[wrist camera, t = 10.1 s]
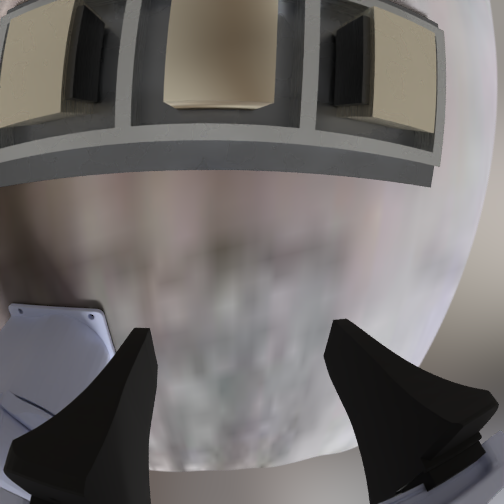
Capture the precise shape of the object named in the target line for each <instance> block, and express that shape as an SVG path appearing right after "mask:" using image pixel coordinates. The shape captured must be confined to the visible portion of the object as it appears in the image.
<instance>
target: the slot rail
mask: <svg viewBox="0 0 504 504" xmlns="http://www.w3.org/2000/svg"><path fill="white" fill-rule="evenodd" d="M171 2H172V0H29V1H27V2H25V3H22V4H20V5H18V6H16V7H14V8H12V9H10V10H8V12H7V15H5V16H3V17H1V21H0V187H4V186H10V185H16V184H22V183H28V182H35V181H42V180H50V179H58V178H66V177H76V176H86V175H97V174H109V173H123V172H140V171H164V170H256V171H280V172H298V173H313V174H326V175H337V176H348V177H357V178H367V179H375V180H383V181H391V182H398V183H405V184H412V185H419V186H425V187H431V182H432V176H433V169H434V166H438V167H440V161H441V153H442V144H443V134H444V121H445V103H446V58H445V40H444V31H443V30H441V29H439V28H438V24H437V23H435V22H433V21H431V20H429V19H427V18H426V17H424V16H422V15H420V14H418V13H416V12H414V11H411V10H409V9H407V8H405V7H403V6H401V5H398V4H396V3H394V2H391V1H389V0H278V22H277V48H276V71H275V93H274V103H272V104H269V105H266V106H264V107H261V108H258V109H256V110H233V109H188V110H177V109H175V108H173V107H172V106H170V105H168V104H167V103H165V102H163V97H164V76H165V61H166V48H167V37H168V27H169V18H170V10H171Z"/></svg>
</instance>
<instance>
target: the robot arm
mask: <svg viewBox="0 0 504 504" xmlns="http://www.w3.org/2000/svg"><path fill="white" fill-rule="evenodd" d="M8 308H9V312H10V314H11V317H10V318H9V320H8V321H7V322H6V324H5V325H4V326H3V328H2V329H1V331H0V504H151V499H150V486H149V434H150V427H151V420H152V414H153V407H154V401H155V395H156V389H157V370H158V365H157V360H156V356H155V351H154V346H153V341H152V336H151V331H150V328H134V329H133V330H132V331H131V333H130V334H129V336H128V337H127V338H126V340H125V341H124V343H123V344H122V345H121V347H120V348H119V349H118V351H117V352H116V353H115V349H114V346H113V343H112V340H111V336H110V333H109V329H108V326H107V322H106V319H105V315H104V313H103V311H102V310H100V309H91V308H70V307H54V306H39V305H27V304H16V303H11V304H10V305H9V307H8ZM90 314H92V315H93V316H94V317H93V316H91V315H90ZM324 359H325V363H326V366H327V370H328V373H329V376H330V378H331V380H332V383H333V385H334V387H335V389H336V391H337V393H338V395H339V397H340V400H341V402H342V404H343V406H344V408H345V410H346V412H347V414H348V416H349V419H350V421H351V424H352V427H353V430H354V433H355V436H356V439H357V442H358V446H359V450H360V453H361V457H362V461H363V465H364V470H365V475H366V480H367V486H368V492H369V501H370V504H488V503H489V502H490V501H491V500H492V499H493V498H494V497H495V496H496V495H497V494H498V493H499V492H500V491H501V490H502V488H504V433H503V432H502V430H499V431H498V432H497V433H495V434H494V435H493V436H492V437H490V438H489V439H488V440H487V441H485V442H484V443H483V444H482V445H481V444H480V442H479V440H480V439H481V438H482V436H481V435H480V433H479V431H480V429H482V428H483V426H484V425H485V424H486V423H487V422H488V421H489V420H490V419H491V417H492V416H493V415H494V413H495V412H496V411H497V409H498V405H499V404H498V402H497V401H496V400H495V398H494V397H493V396H492V394H491V393H490V392H489V391H487V390H482V389H477V388H472V387H468V386H464V385H460V384H457V383H454V382H451V381H448V380H445V379H443V378H440V377H438V376H436V375H433V374H431V373H429V372H427V371H425V370H422V369H421V368H419V367H417V366H415V365H413V364H411V363H410V362H408V361H406V360H405V359H403V358H401V357H400V356H398V355H397V354H395V353H394V352H392V351H391V350H389V349H388V348H386V347H385V346H383V345H382V344H381V343H379V342H378V341H376V340H375V339H374V338H372V337H371V336H370V335H368V334H367V333H366V332H364V331H363V330H362V329H360V328H359V327H358V326H356V325H355V324H353V323H352V322H351V321H349V320H348V319H339V320H333V323H332V327H331V331H330V334H329V338H328V342H327V345H326V349H325V353H324Z"/></svg>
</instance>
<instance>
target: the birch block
mask: <svg viewBox="0 0 504 504" xmlns="http://www.w3.org/2000/svg"><path fill="white" fill-rule="evenodd" d="M277 22H278V0H172V2H171V10H170V18H169V27H168V37H167V48H166V61H165V76H164V97H163V102H165V103H167V104H168V105H170V106H172V107H173V108H175V109H177V110H188V109H233V110H256V109H258V108H261V107H264V106H266V105H269V104H272V103H274V93H275V71H276V48H277Z"/></svg>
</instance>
